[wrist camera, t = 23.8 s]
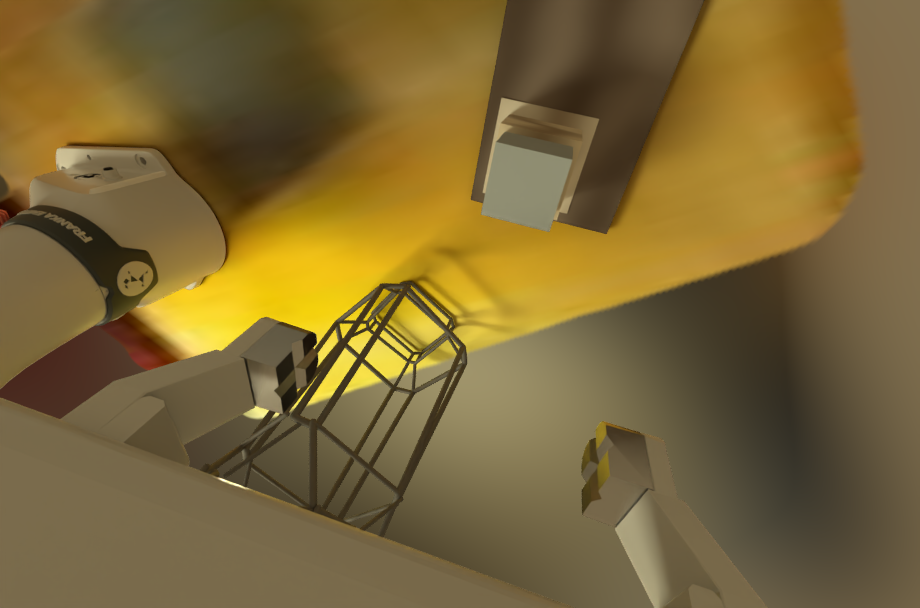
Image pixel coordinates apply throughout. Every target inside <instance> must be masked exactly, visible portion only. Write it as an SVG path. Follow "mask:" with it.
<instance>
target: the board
mask: <svg viewBox="0 0 920 608" xmlns="http://www.w3.org/2000/svg"><path fill="white" fill-rule="evenodd" d="M703 2H704V0H507V6H506V11H505V17H504V22H503V28H502V33H501V38H500V44H499V49H498V55H497V60H496V65H495V71H494V76H493V82H492V87H491V93H490V98H489V103H488V109H487V114H486V120H485V125H484V131H483V136H482V141H481V147H480V152H479V158H478V163H477V168H476V174H475V179H474V185H473V190H472V196H471V200H473V201H477V202H481V203H483V202H484V197H485V192H486V187H487V183H488V178H489V173H490V168H491V163H492V158H493V153H494V148H495V143H496V141H497V137H498V132H499V127H500V123H501V122H502V121H503V120H504V119H505V118H506V117H507V116H508V115H509V114H513V115H517V116H522V117H526V118H531V119H535V120H540V121H544V122H549V123H553V124H558V125H562V126H567V127H571V128H575V129H580V130H582V139H583V142H582V145H581V148H580V151H579V154H578V157H577V161H576V164H575V167H574V170H573V173H572V176H571V179H570V182H569V185H568V188H567V191H566V194H565V197H564V200H563V203H562V206H561V209H560V212H559V215H558V218H557V222H561V223H565V224H569V225H573V226H577V227H581V228H584V229H588V230H592V231H596V232H600V233H604V234H607V232H608V229H609V227H610V225H611V222H612V220H613V217H614V215H615V213H616V210H617V208H618V205H619V203H620V201H621V198H622V196H623V193H624V191H625V189H626V186H627V184H628V181H629V179H630V177H631V174H632V172H633V170H634V167H635V165H636V162H637V160H638V158H639V155H640V153H641V150H642V148H643V146H644V143H645V141H646V138H647V136H648V134H649V131H650V129H651V127H652V124H653V122H654V119H655V117H656V115H657V112H658V110H659V107H660V105H661V103H662V100H663V98H664V95H665V93H666V91H667V88H668V86H669V83H670V81H671V79H672V76H673V74H674V72H675V69H676V67H677V64H678V62H679V60H680V57H681V55H682V52H683V50H684V48H685V45H686V43H687V40H688V38H689V36H690V33H691V31H692V29H693V26H694V24H695V21H696V19H697V17H698V14H699V12H700V9H701V7H702V5H703ZM553 221H556V220H553Z"/></svg>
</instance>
